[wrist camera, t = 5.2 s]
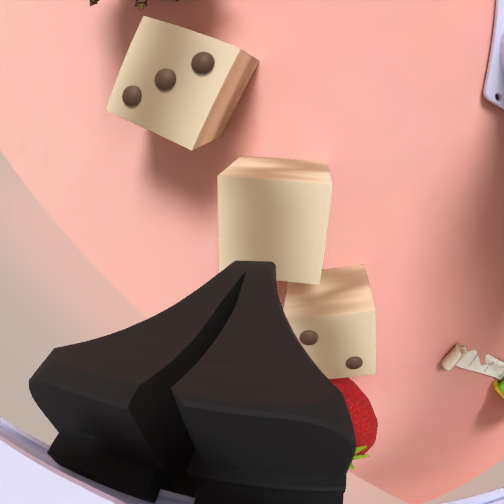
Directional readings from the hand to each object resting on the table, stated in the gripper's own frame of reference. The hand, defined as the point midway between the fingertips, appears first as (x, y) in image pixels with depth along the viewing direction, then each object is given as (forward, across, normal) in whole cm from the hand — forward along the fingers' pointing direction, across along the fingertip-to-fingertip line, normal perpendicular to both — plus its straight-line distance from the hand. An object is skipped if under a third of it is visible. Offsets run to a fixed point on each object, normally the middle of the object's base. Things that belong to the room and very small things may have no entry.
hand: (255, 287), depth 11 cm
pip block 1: (+10, +4, -7) cm, 13 cm away
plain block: (+10, 0, 0) cm, 10 cm away
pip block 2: (+10, -3, +7) cm, 12 cm away
